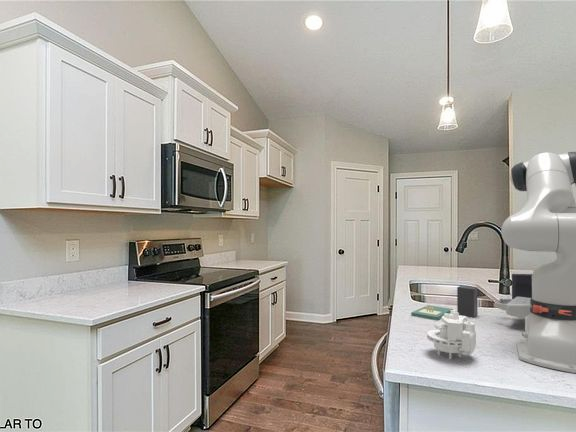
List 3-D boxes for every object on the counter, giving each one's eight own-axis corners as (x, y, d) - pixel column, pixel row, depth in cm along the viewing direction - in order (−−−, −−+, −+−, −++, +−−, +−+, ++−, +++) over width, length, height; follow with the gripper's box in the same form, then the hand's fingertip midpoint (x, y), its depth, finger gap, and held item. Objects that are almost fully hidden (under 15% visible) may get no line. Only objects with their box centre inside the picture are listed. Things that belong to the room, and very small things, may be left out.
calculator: (538, 309, 149) (537, 273, 150) (544, 311, 145) (544, 275, 145) (510, 308, 150) (510, 273, 151) (516, 310, 146) (516, 274, 146)
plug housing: (474, 318, 134) (473, 289, 134) (457, 315, 138) (457, 287, 138) (477, 315, 137) (477, 287, 138) (461, 312, 141) (461, 285, 142)
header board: (437, 320, 130) (437, 311, 130) (411, 315, 136) (411, 307, 136) (452, 311, 143) (452, 303, 143) (428, 307, 150) (428, 300, 150)
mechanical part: (432, 345, 102) (432, 304, 103) (478, 354, 96) (478, 310, 96) (422, 357, 93) (422, 312, 94) (472, 367, 86) (472, 319, 87)
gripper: (545, 295, 129) (502, 290, 139) (538, 304, 114) (490, 298, 124) (545, 312, 129) (502, 306, 139) (538, 324, 114) (490, 316, 123)
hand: (496, 302), depth 131 cm, fingers open, 8 cm apart
